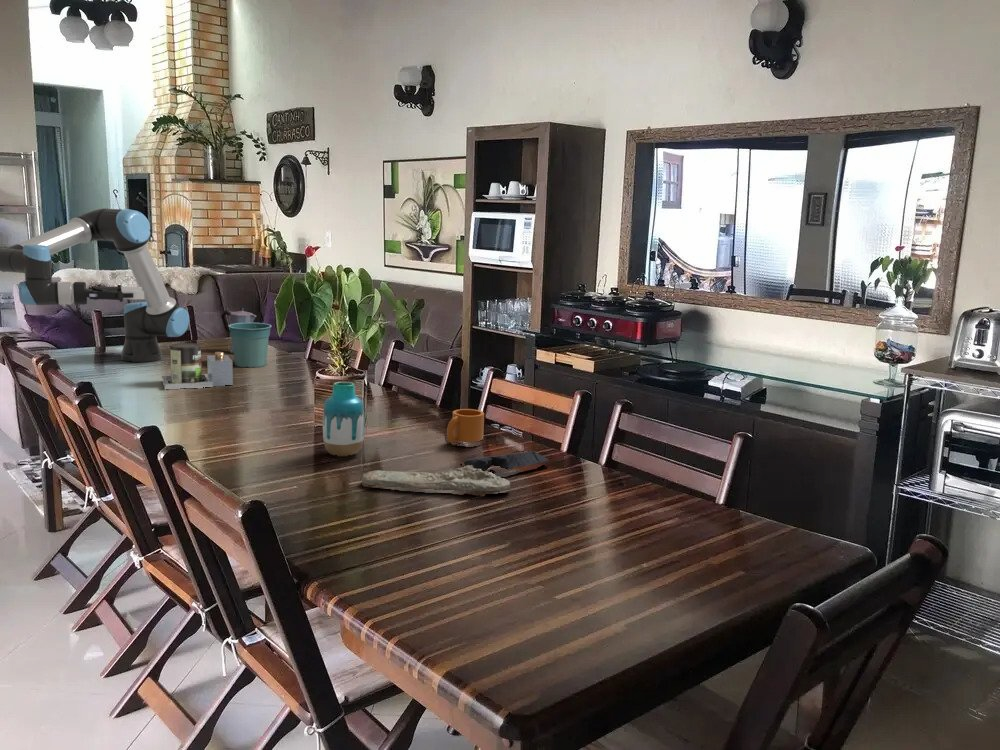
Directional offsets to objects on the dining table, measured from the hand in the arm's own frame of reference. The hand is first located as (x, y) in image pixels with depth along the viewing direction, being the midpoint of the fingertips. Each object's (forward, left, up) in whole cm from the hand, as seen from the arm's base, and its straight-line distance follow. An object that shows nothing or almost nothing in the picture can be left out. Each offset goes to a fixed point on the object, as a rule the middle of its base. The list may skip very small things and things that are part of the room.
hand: (143, 292), depth 278 cm
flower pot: (-27, +40, -32) cm, 58 cm away
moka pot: (-56, +40, -32) cm, 76 cm away
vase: (+103, +42, -32) cm, 116 cm away
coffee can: (+4, +13, -32) cm, 35 cm away
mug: (+103, +76, -32) cm, 132 cm away
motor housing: (+4, +16, -32) cm, 36 cm away
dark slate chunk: (+126, +78, -33) cm, 151 cm away
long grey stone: (+135, +55, -33) cm, 149 cm away
